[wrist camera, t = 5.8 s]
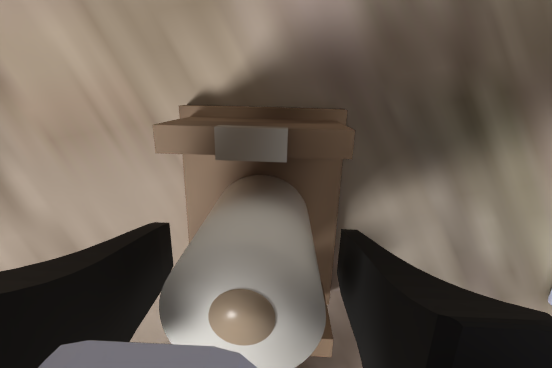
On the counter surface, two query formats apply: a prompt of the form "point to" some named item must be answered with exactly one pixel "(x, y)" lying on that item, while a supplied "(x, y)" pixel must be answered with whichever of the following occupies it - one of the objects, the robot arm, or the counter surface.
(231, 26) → the counter surface
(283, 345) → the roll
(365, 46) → the counter surface
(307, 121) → the holder
